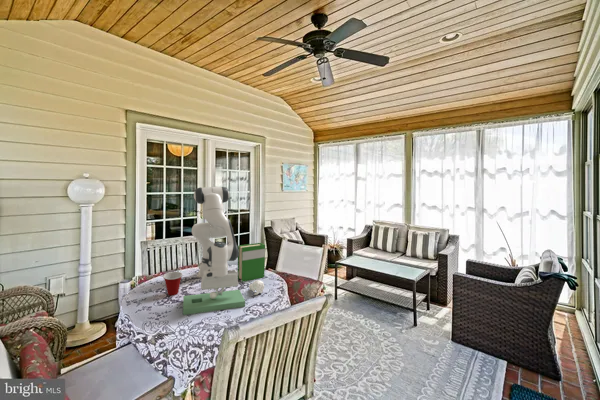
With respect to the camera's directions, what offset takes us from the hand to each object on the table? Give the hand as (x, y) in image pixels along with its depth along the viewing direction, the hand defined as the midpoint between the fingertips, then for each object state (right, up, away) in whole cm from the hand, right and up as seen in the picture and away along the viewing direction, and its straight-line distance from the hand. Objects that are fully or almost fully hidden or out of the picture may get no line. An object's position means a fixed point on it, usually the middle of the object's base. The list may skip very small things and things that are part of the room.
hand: (219, 295), depth 164 cm
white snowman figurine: (+18, -4, +17) cm, 25 cm away
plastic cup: (-32, -3, +11) cm, 34 cm away
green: (-3, -5, -1) cm, 6 cm away
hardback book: (+11, -2, +43) cm, 45 cm away
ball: (-3, 0, -1) cm, 3 cm away
